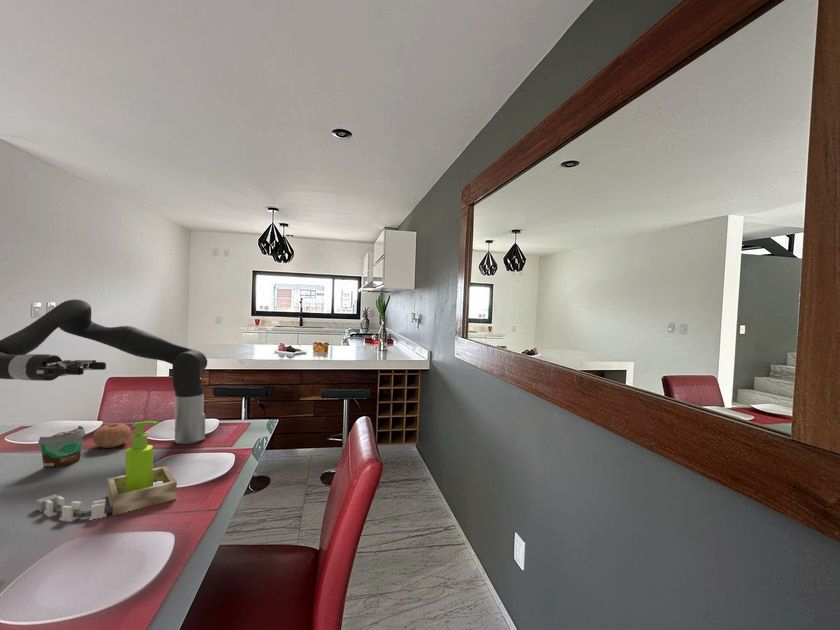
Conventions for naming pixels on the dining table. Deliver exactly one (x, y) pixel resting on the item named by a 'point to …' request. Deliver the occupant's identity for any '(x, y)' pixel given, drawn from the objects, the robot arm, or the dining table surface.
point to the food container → (62, 448)
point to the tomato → (111, 435)
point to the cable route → (71, 508)
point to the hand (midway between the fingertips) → (94, 368)
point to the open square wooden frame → (141, 492)
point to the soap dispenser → (139, 460)
